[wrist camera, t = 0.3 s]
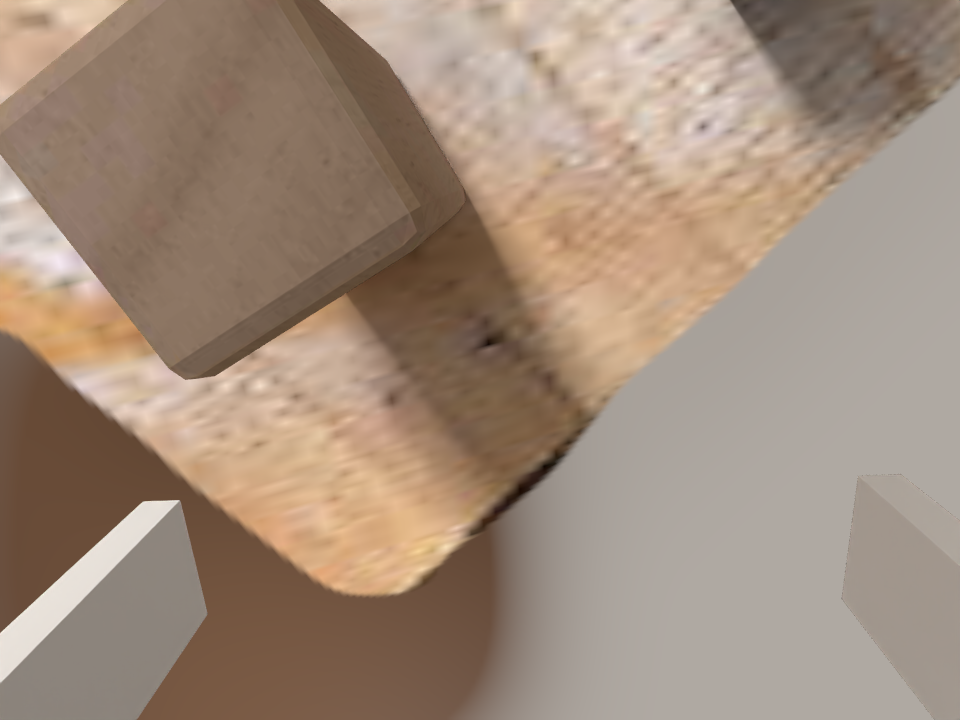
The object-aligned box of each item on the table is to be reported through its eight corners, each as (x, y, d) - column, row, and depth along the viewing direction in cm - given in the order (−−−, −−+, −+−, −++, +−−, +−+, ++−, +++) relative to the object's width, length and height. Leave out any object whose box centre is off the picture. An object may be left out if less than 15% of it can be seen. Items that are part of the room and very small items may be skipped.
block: (473, 202, 37) (435, 237, 18) (340, 287, 39) (177, 401, 20) (380, 47, 35) (222, -103, 16) (243, 145, 37) (-47, 119, 17)
